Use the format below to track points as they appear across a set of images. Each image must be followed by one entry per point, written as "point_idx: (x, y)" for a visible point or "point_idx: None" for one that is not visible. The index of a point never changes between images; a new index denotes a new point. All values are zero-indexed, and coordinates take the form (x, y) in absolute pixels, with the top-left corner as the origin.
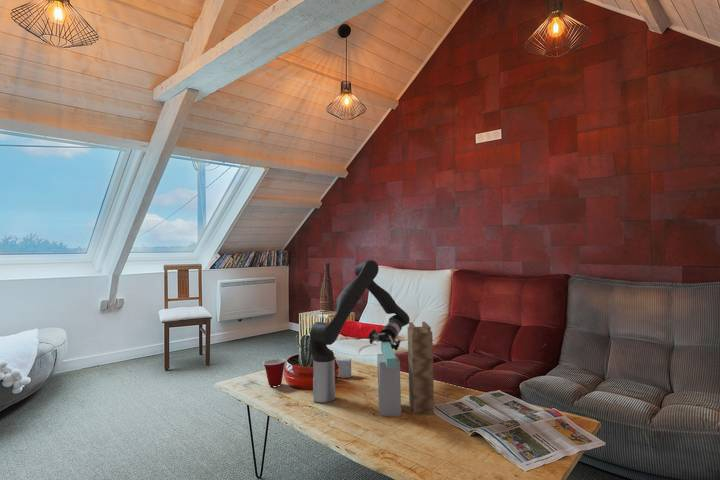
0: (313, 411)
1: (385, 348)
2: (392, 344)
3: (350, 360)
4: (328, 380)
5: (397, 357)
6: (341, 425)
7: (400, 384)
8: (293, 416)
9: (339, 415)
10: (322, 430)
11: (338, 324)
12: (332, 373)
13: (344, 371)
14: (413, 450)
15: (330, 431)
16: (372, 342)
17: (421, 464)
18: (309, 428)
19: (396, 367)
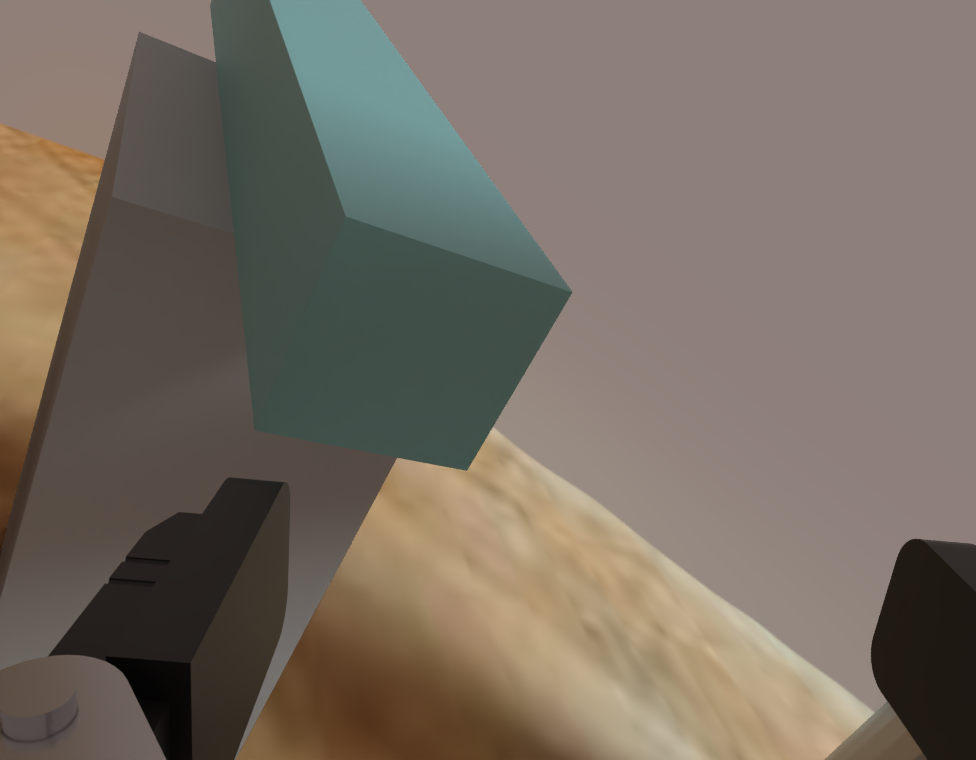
0: (698, 698)
1: (378, 53)
2: (101, 668)
3: None
4: (837, 750)
5: (139, 99)
6: (454, 493)
7: (73, 279)
8: (751, 642)
9: (511, 613)
10: (527, 472)
11: None
12: (877, 751)
13: None
14: (68, 228)
15: (486, 455)
16: (933, 740)
17: (65, 172)
18: (594, 503)
19: (211, 2)
